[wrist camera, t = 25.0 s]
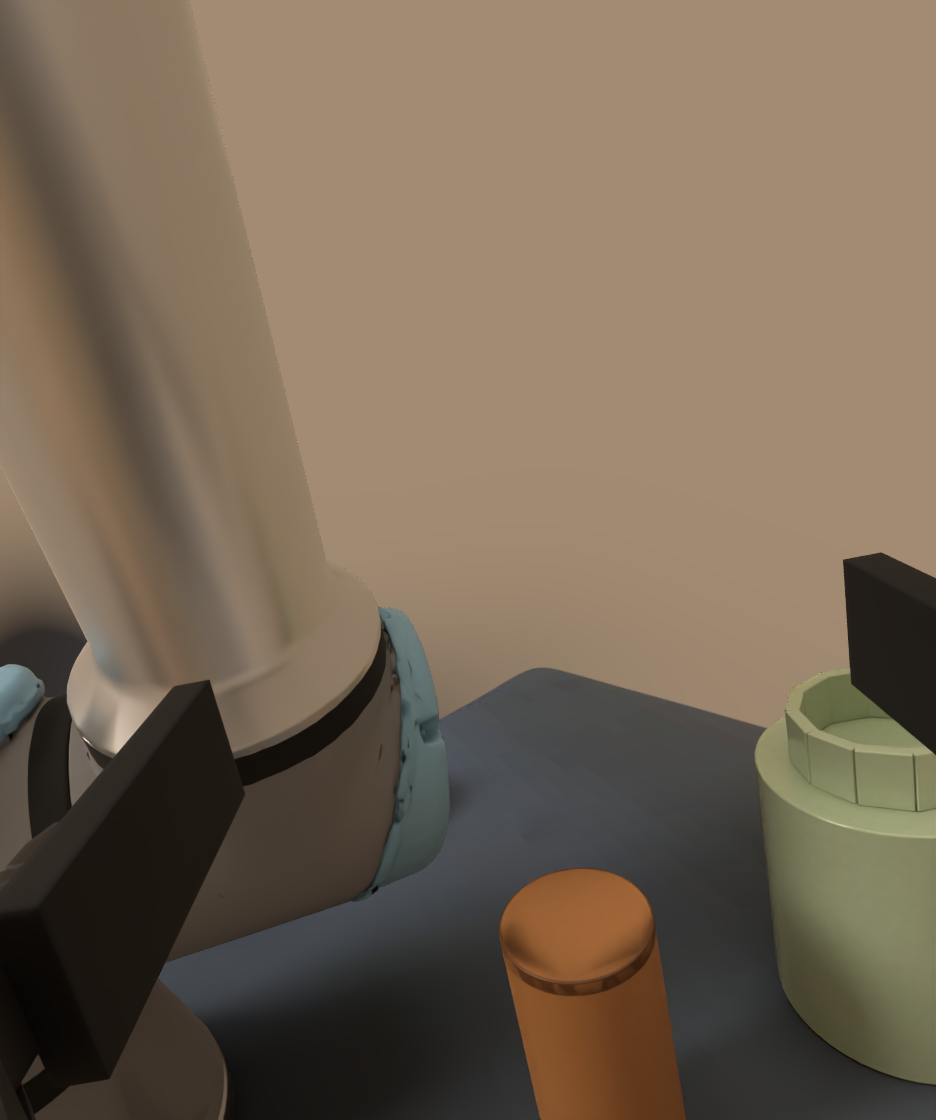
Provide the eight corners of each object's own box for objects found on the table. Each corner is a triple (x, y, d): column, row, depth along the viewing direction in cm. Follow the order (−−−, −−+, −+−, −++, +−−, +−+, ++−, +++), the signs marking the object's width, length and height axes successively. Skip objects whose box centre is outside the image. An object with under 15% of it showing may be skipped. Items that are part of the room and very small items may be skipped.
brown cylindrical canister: (526, 1154, 32) (470, 917, 28) (626, 1073, 34) (585, 848, 31) (615, 1281, 27) (560, 1013, 24) (724, 1176, 29) (687, 922, 26)
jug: (729, 971, 38) (696, 715, 34) (895, 840, 45) (883, 612, 41) (959, 1142, 29) (949, 816, 25) (1128, 946, 35) (1139, 663, 31)
